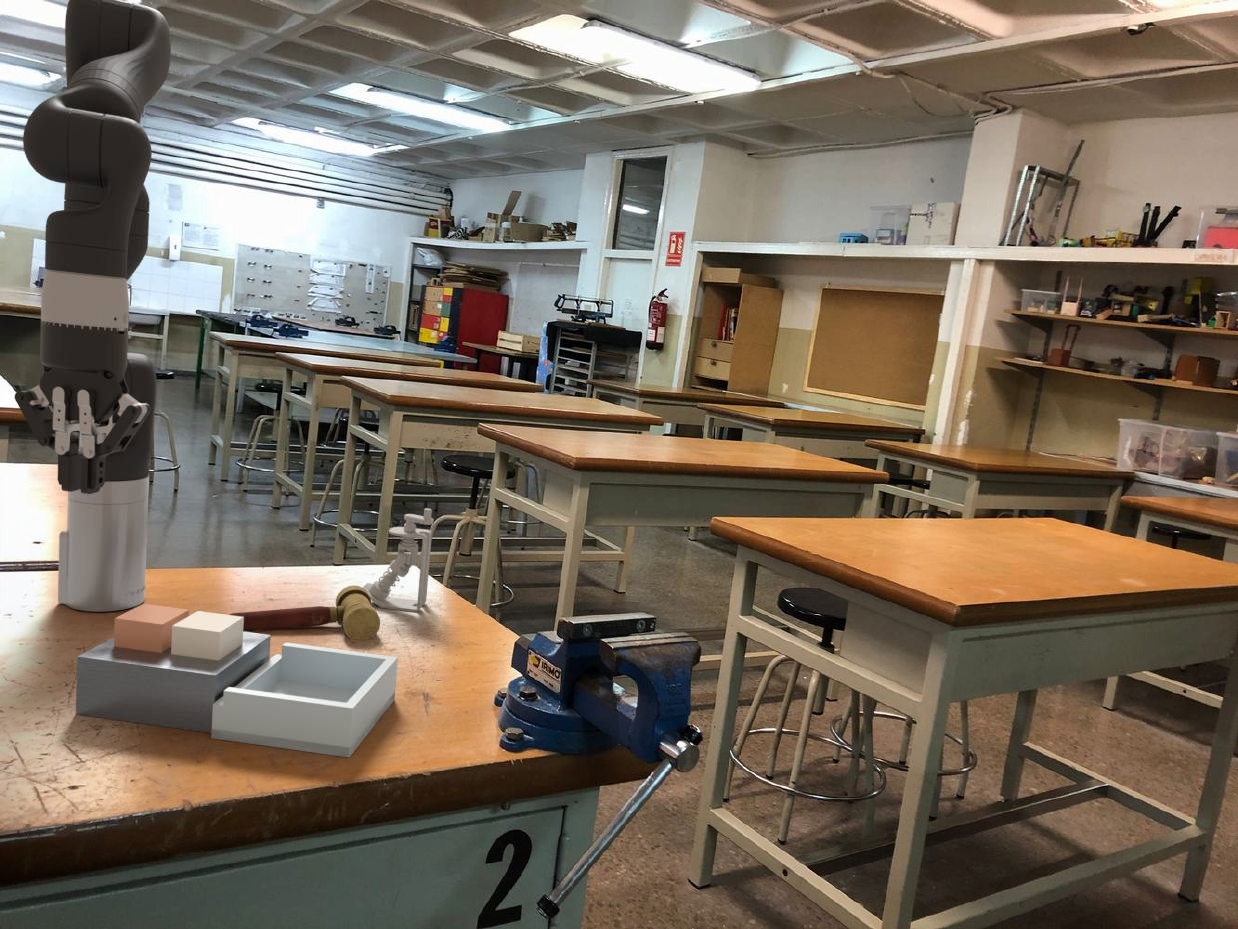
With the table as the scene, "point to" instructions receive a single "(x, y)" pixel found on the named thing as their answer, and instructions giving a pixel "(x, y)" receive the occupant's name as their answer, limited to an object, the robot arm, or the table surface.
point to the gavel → (322, 615)
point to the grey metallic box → (162, 683)
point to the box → (308, 700)
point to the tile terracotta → (147, 627)
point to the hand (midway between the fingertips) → (81, 490)
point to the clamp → (405, 565)
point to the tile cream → (207, 635)
